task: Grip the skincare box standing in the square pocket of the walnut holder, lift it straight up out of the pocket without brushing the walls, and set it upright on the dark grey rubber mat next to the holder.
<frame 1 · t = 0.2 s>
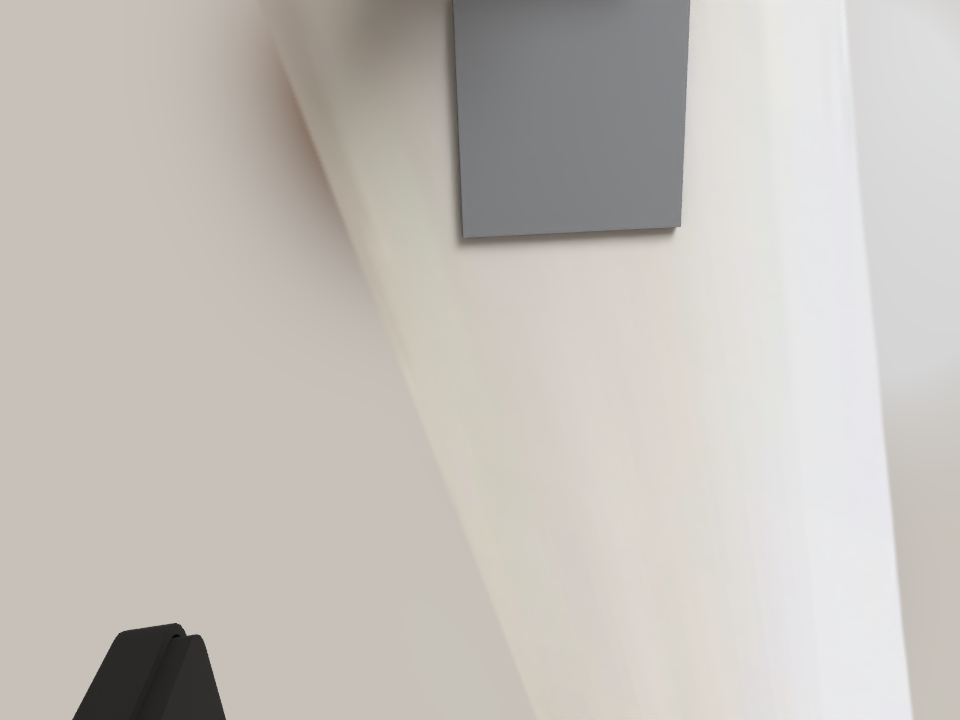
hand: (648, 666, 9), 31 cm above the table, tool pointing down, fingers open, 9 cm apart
grey rubber mat: (570, 117, 37), on the table
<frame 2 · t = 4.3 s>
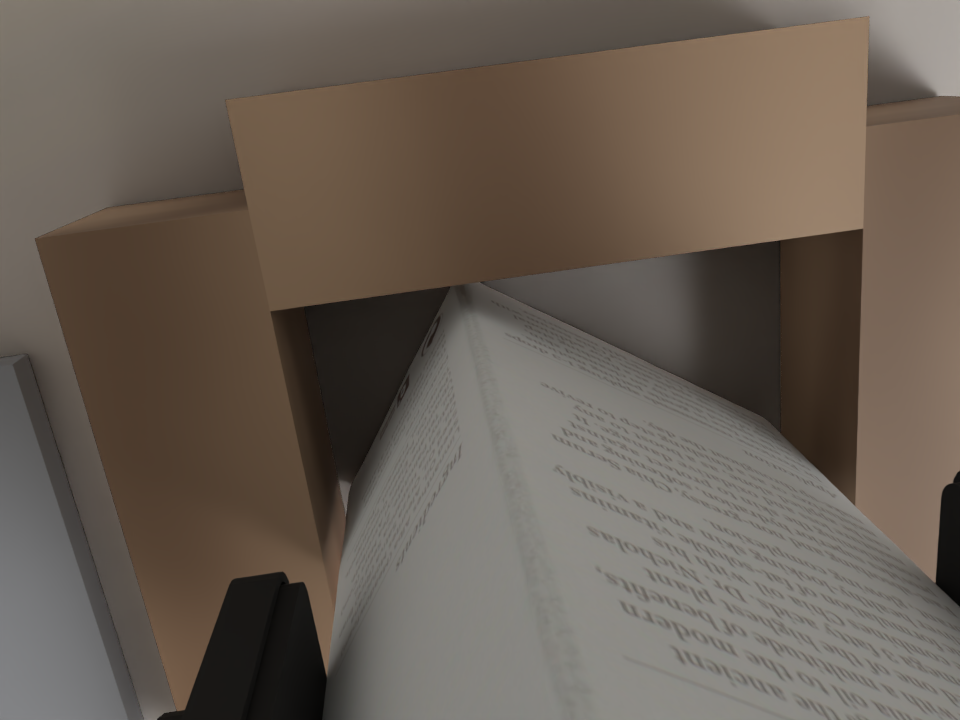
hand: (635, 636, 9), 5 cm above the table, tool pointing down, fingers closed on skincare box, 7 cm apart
walnut holder: (562, 454, 14), on the table
skincare box: (559, 449, 14), resting in walnut holder, touching gripper
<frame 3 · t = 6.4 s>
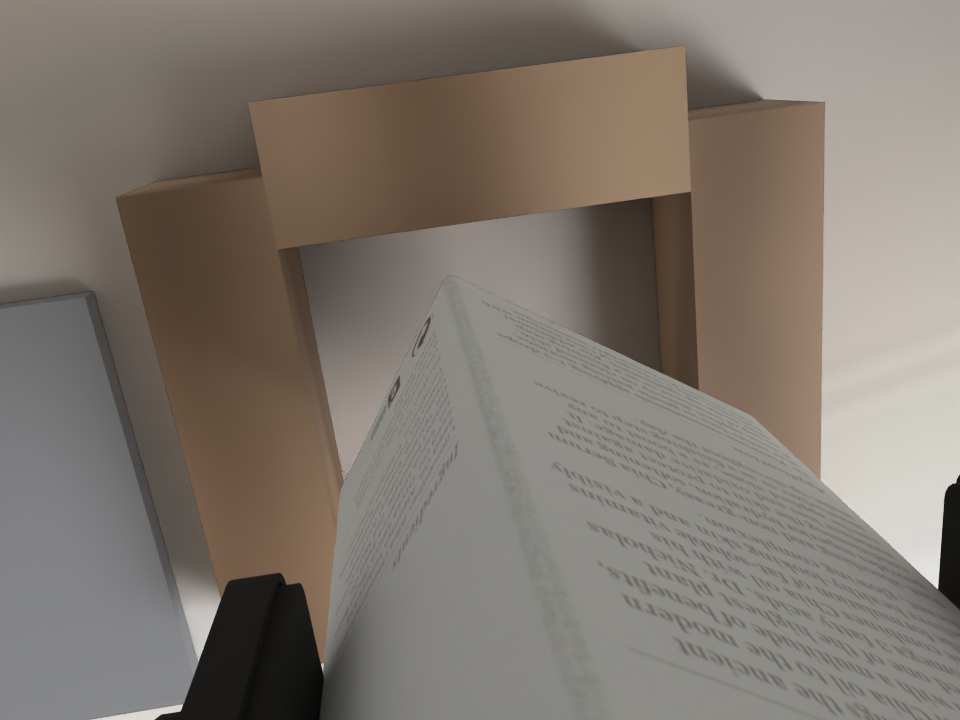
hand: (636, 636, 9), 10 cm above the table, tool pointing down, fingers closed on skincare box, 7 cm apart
walnut holder: (495, 370, 19), on the table
skincare box: (549, 449, 14), point 5 cm above the table, touching gripper
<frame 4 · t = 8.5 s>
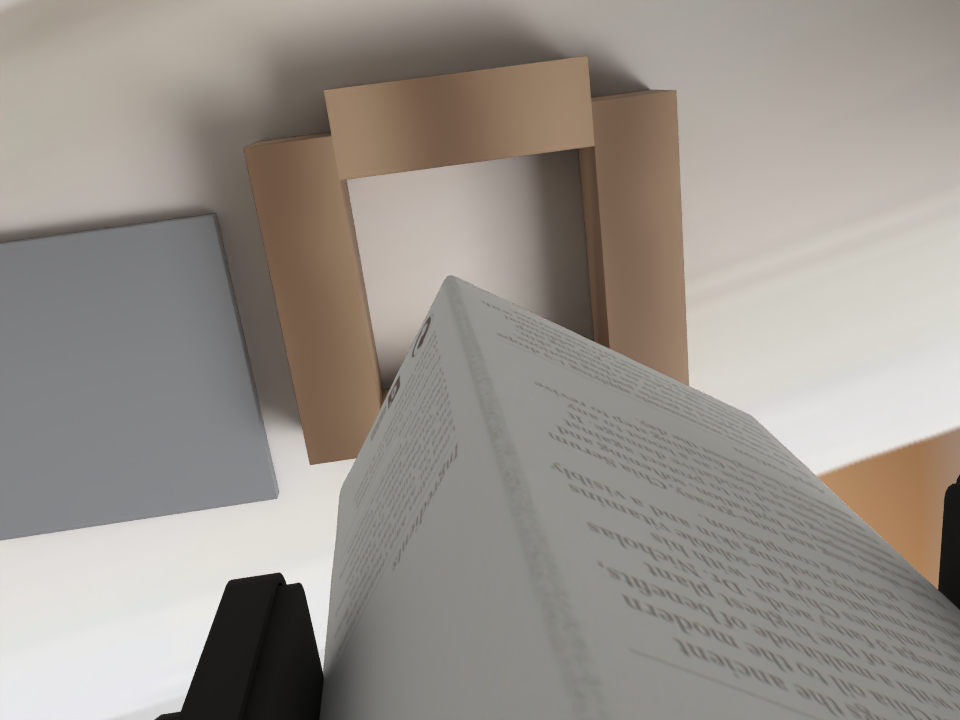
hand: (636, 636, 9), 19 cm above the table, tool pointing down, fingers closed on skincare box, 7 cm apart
grey rubber mat: (99, 382, 28), on the table
walnut holder: (476, 270, 28), on the table
skincare box: (549, 449, 14), point 14 cm above the table, touching gripper
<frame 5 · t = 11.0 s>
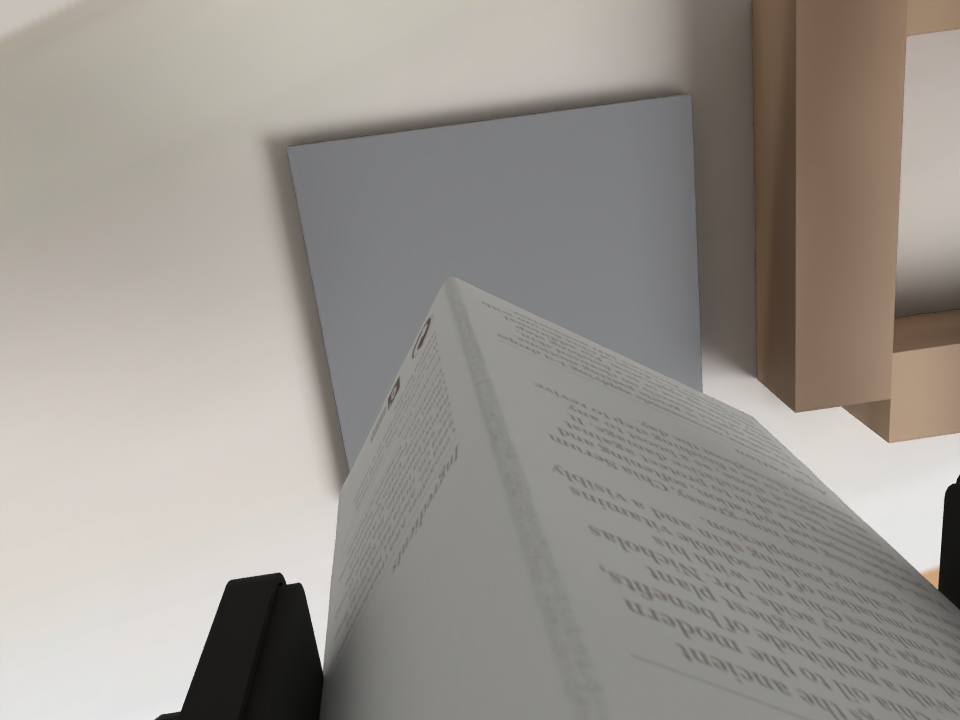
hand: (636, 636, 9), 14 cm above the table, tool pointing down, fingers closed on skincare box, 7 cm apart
grey rubber mat: (510, 310, 22), on the table
skincare box: (550, 450, 14), point 9 cm above the table, touching gripper
when the fingers open (7 cm above the table, at t = 13.2 s): skincare box drops 1 cm, resting on grey rubber mat.
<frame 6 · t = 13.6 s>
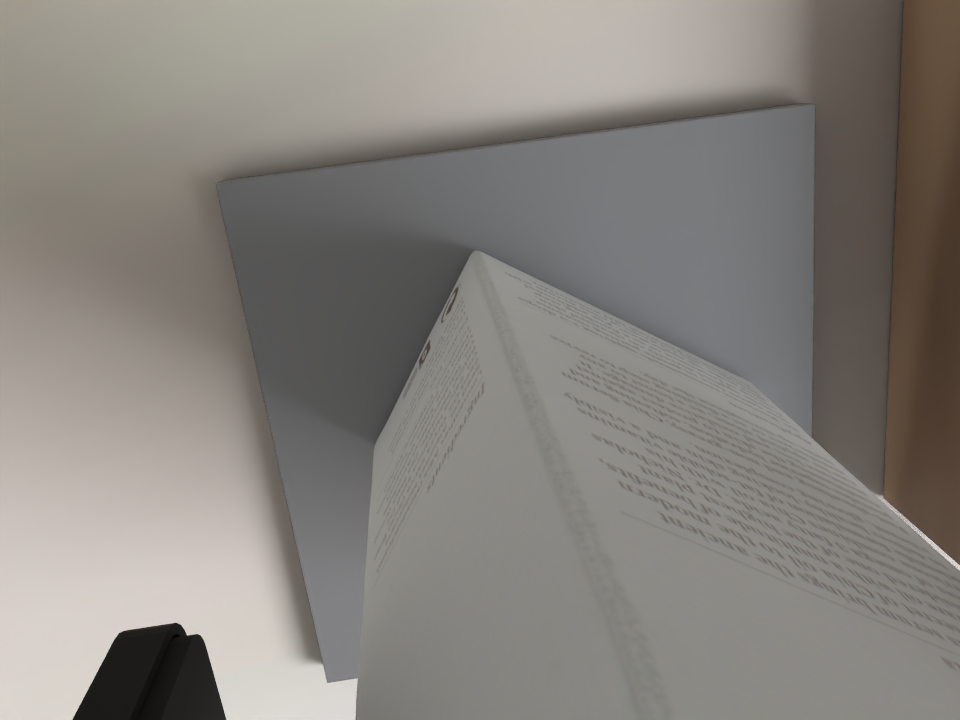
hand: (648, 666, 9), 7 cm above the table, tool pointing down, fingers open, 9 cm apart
grey rubber mat: (544, 410, 16), on the table
skincare box: (565, 412, 16), resting on grey rubber mat
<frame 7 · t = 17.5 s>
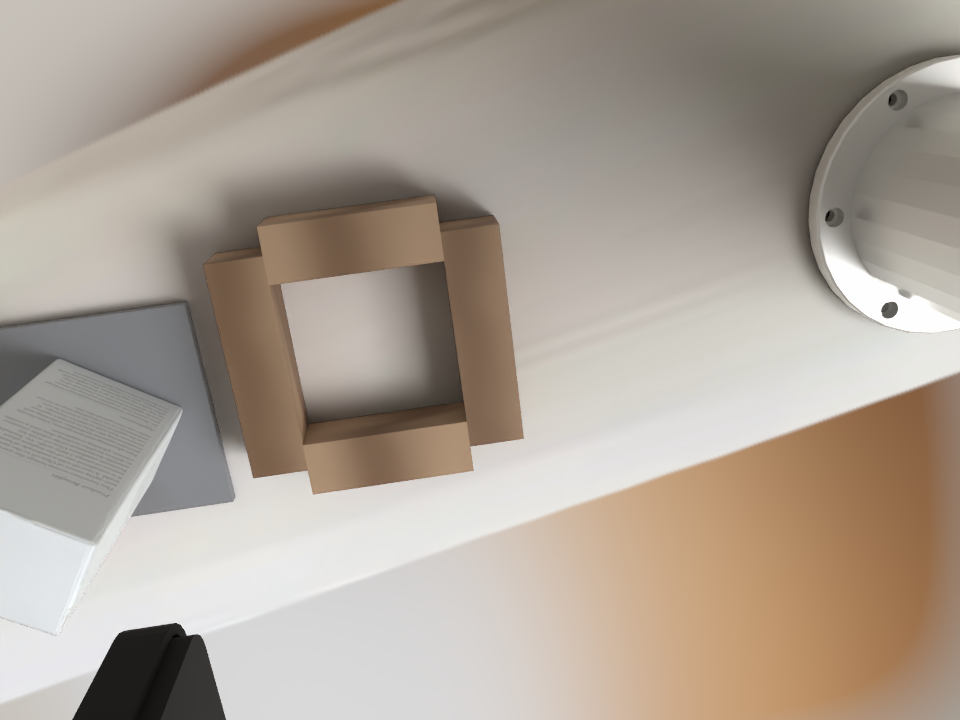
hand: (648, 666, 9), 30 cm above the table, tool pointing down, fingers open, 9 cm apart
grey rubber mat: (105, 418, 39), on the table
walnut holder: (373, 339, 39), on the table
skincare box: (110, 419, 39), resting on grey rubber mat
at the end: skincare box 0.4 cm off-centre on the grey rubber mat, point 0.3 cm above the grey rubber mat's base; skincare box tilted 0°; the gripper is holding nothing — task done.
